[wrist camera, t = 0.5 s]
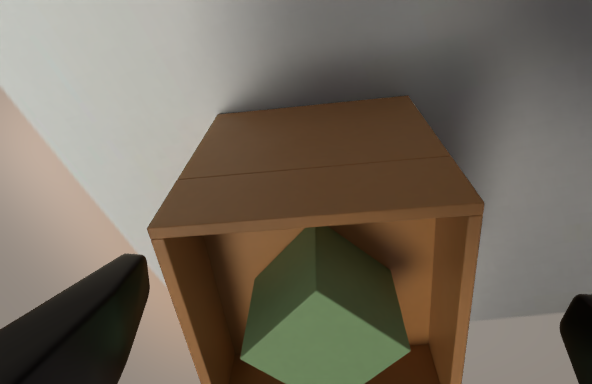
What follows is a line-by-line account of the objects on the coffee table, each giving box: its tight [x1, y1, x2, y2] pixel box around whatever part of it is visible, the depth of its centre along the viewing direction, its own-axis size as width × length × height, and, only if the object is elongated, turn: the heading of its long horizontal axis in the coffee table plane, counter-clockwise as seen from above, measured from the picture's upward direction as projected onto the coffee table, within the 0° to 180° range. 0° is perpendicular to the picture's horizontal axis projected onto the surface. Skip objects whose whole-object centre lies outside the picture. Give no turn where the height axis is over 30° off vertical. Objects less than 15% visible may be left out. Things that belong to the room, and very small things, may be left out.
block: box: [240, 226, 411, 384], centre depth 14 cm, size 4×4×4 cm
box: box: [147, 96, 484, 384], centre depth 18 cm, size 9×9×10 cm
